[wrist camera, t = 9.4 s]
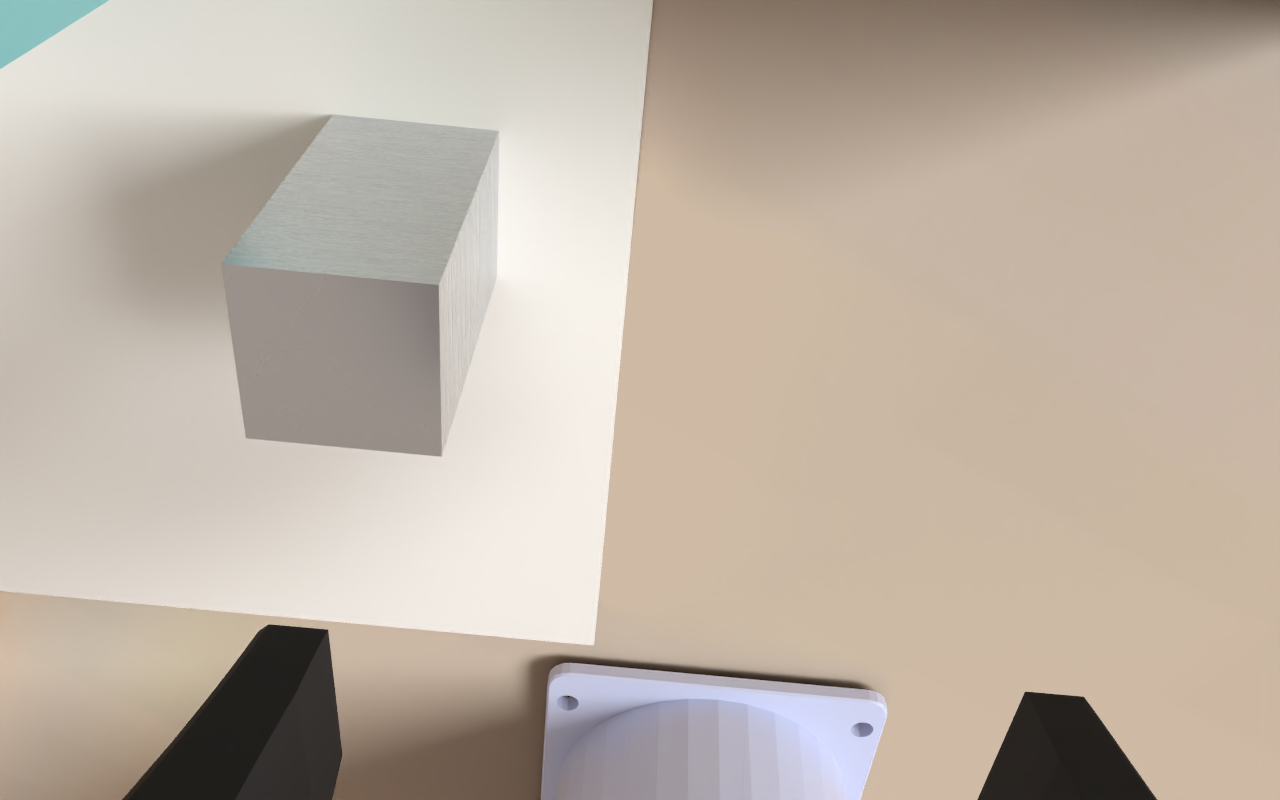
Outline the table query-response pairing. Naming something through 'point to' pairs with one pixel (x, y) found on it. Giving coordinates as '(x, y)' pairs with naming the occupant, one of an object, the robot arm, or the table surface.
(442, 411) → the steel post
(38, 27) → the teal rectangular block
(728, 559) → the table surface
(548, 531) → the post board
